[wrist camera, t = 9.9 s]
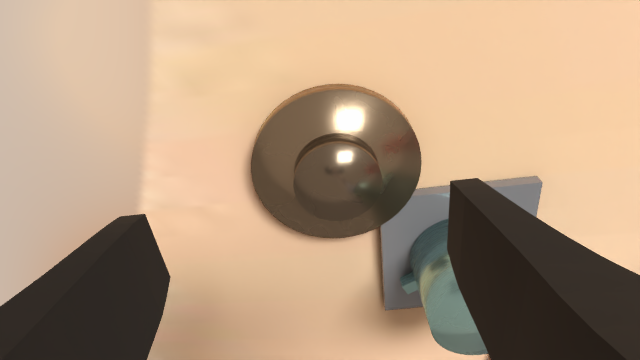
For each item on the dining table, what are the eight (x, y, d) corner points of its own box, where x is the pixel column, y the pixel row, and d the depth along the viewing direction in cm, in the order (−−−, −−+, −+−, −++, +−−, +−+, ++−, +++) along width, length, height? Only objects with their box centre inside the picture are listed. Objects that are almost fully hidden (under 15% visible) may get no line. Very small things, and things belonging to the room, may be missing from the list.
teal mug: (421, 304, 26) (442, 373, 22) (380, 251, 23) (395, 318, 19) (529, 255, 24) (573, 321, 20) (495, 193, 21) (538, 253, 18)
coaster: (517, 289, 26) (521, 297, 25) (383, 302, 26) (385, 310, 26) (536, 176, 22) (542, 182, 21) (378, 193, 22) (379, 199, 22)
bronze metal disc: (417, 220, 23) (426, 244, 21) (268, 235, 23) (265, 261, 22) (418, 74, 19) (428, 89, 17) (237, 95, 19) (230, 112, 17)
